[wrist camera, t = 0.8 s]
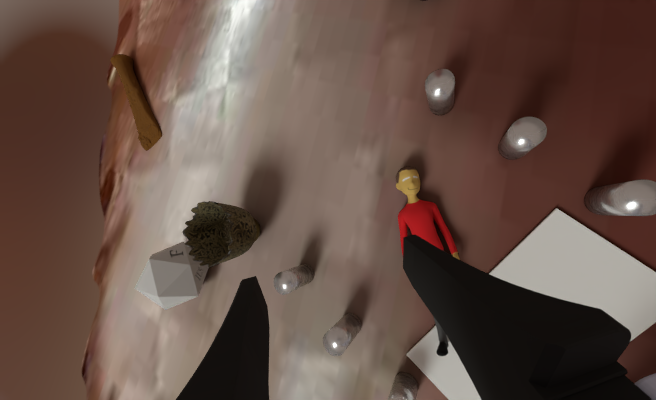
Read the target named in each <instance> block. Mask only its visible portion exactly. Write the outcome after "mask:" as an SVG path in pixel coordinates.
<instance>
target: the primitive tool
mask: <svg viewBox="0 0 656 400" xmlns="http://www.w3.org/2000/svg"><path fill="white" fill-rule="evenodd" d="M111 63H112V65H113V66H114V67H115V68H116V70H117V72H118V74H119V76H120V78H121V82H122V83H123V85H124V89H125V91H126V95H127V98H128V100H129V103H130V106H131V109H132V113H133V115H134V119H135V123H136V126H137V130H138V134H139V137H138V139H139V140H140V142H141V145H142V147H143V148H144V149H145V150H146V151H147V150H149V149H150V148H151V147H152V146H153V145H154V144H155V143H157V141H158V140H159V139H160V138H161V137H162V132H161V129H160V127H159V125H158V123H157V121H156V119H155V117H154V115H153V114H152V111H151V109H150V107H149V105H148V103H147V101H146V98H145V96H144V94H143V92H142V89H141V87H140V85H139V84H138V81H137V79H136V76H135V73H134V71H133V59H132V58H131V57H129V56H127V55H123V54H119V55H115V56H113V57H112V58H111Z"/></svg>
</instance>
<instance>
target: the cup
mask: <svg viewBox="0 0 656 400" xmlns="http://www.w3.org/2000/svg"><path fill="white" fill-rule="evenodd" d="M191 211H192V212H193V213H195V215H194V216H193V220H191V221H187V222H186V223H185V224H186V225H187V226H188V227H187V228H186V229H184V230H183V234H184V235H185V237H187V238H188V239H189V240H190V241H188V242H186V243H185V245H186V246H188V247H194V248H193V249H191V251H190V252H189V255H190V256H194V258H193V261H196V262H201V263H200V264H199V265H200V266H204V265H208V267H212V266H214V265H217V264H219V263H222V262H225V261H228V260H230V259H233V258H235V257H238V256H240V255H242V254H243V253H245V252H246V251H248V250H249V249H250V248H251V246H252V245H253V243H254V242H255V241H256V240H257V239H258V237H259V235H260V232H261V229H260V225H259V223H258V221H257V220H256V219H254V218H253V217H252V216H251V215H250V214H249V213H248V212H247V211H245V210H244V209H242V208H239V207H236V206H232V205H226V204H221V203H216V202H210V201H209V202H201V203H198V204H197V207H195V208H193V209H192V210H191Z"/></svg>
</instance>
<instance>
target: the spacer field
mask: <svg viewBox="0 0 656 400" xmlns="http://www.w3.org/2000/svg"><path fill="white" fill-rule="evenodd" d="M425 89H426V93H427V98H428V103H429V108H430V111H431V112H432V113H433V114H435V115H445V114H447V113H448V112H450V111H451V109H452V108H453V106H454V91H455V77H454V75H453V73H452V72H451V71H449V70H447V69H438V70H436V71H434V72H432V73H431V74H430V75H429V76H428V77H427V79H426V82H425ZM546 133H547V129H546V125H545V124H544V122H543V121H541V120H540V119H538V118H535V117H524V118H520V119H518V120H517V121H515V122H514V123H513V124H512V125H511V127H510V128H509V130H508V131H507V132H506V134H505V135H504V137H503V138H502V140H501V141H500V143H499V145H498V151H499V153H500V154H501V156H503V157H504V158H506V159H510V160H515V159H519V158H521V157H523V156H524V155H525V154H527V153H528V152H529V151H530V150H532V149H533V148H534V147H536V146H537V145H538V144H539V143H541V142H542V141H543V140H544V138H545V136H546ZM584 203H585V206H586V207H587V209H588V210H589V211H591V212H593V213H595V214H598V215H620V216H649V215H653V214H656V182H654V181H650V180H635V181H629V182H624V183H618V184H612V185H606V186H601V187H596V188H593V189H591V190H590V191H589V192H588V193H587V194H586V195H585V198H584ZM313 277H314V272H313V269H312V268H311V267H310V266H309V265H307V264H303V265H300V266H297V267H294V268H291V269H289V270H286V271H283V272H280V273H278V274H277V275H276V276H275V278H274V287H275V289H276V291H277V292H278V293H280V294H283V295H285V294H288V293H290V292H292V291H294V290H296V289H298V288H300V287H302V286H304V285H306V284H308V283H310V282H311V281H312V280H313ZM360 330H361V322H360V320H359V318H358V317H357V316H356V315H354V314H351V313H348V314H346V315H344V316H343V317H342V318H341V319H340V320H339V321H338V322H337V323H336V324H335V325H334V326H333V327H332V328H331V329H330V330H329V331H328V332H327V333H326V334H325V335H324V338H323V344H324V347H325V349H326V351H327V352H328V353H329V354H331V355H333V356H340V355H341V354H343V352H344V351H345V350H346V349H347V347H348V346H349V345H350V343H351V342H352V341H353V339H354V338H355V337H356V335H357V334H358V333H359V332H360ZM417 392H418V384H417V382H416V380H415V378H414V377H413V376H412V375H410V374H408V373H405V372H401V373H399V374H397V375H396V377H395V380H394V383H393V386H392V389H391V392H390V395H389V398H388V400H416V397H417Z"/></svg>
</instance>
